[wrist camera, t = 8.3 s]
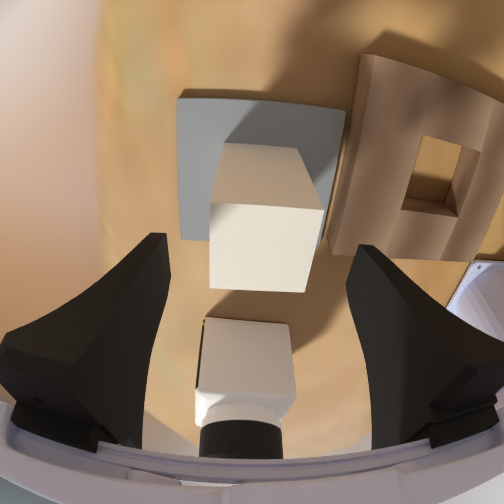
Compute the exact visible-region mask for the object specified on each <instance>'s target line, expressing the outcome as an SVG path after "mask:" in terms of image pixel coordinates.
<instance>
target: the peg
mask: <svg viewBox="0 0 504 504" xmlns="http://www.w3.org/2000/svg"><path fill="white" fill-rule="evenodd" d="M323 214H324V208H323V206H322V204H321V201H320V199H319V197H318V194H317V192H316V190H315V187H314V185H313V183H312V180H311V178H310V176H309V174H308V171H307V169H306V167H305V165H304V162H303V160H302V158H301V156H300V154H299V152H298V149H297V148H290V147H280V146H268V145H255V144H240V143H223V147H222V151H221V155H220V160H219V164H218V168H217V173H216V177H215V181H214V186H213V190H212V195H211V199H210V288H218V289H236V290H256V291H278V292H305V288H306V284H307V280H308V277H309V273H310V269H311V265H312V261H313V257H314V252H315V248H316V244H317V240H318V236H319V231H320V227H321V223H322V218H323Z"/></svg>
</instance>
